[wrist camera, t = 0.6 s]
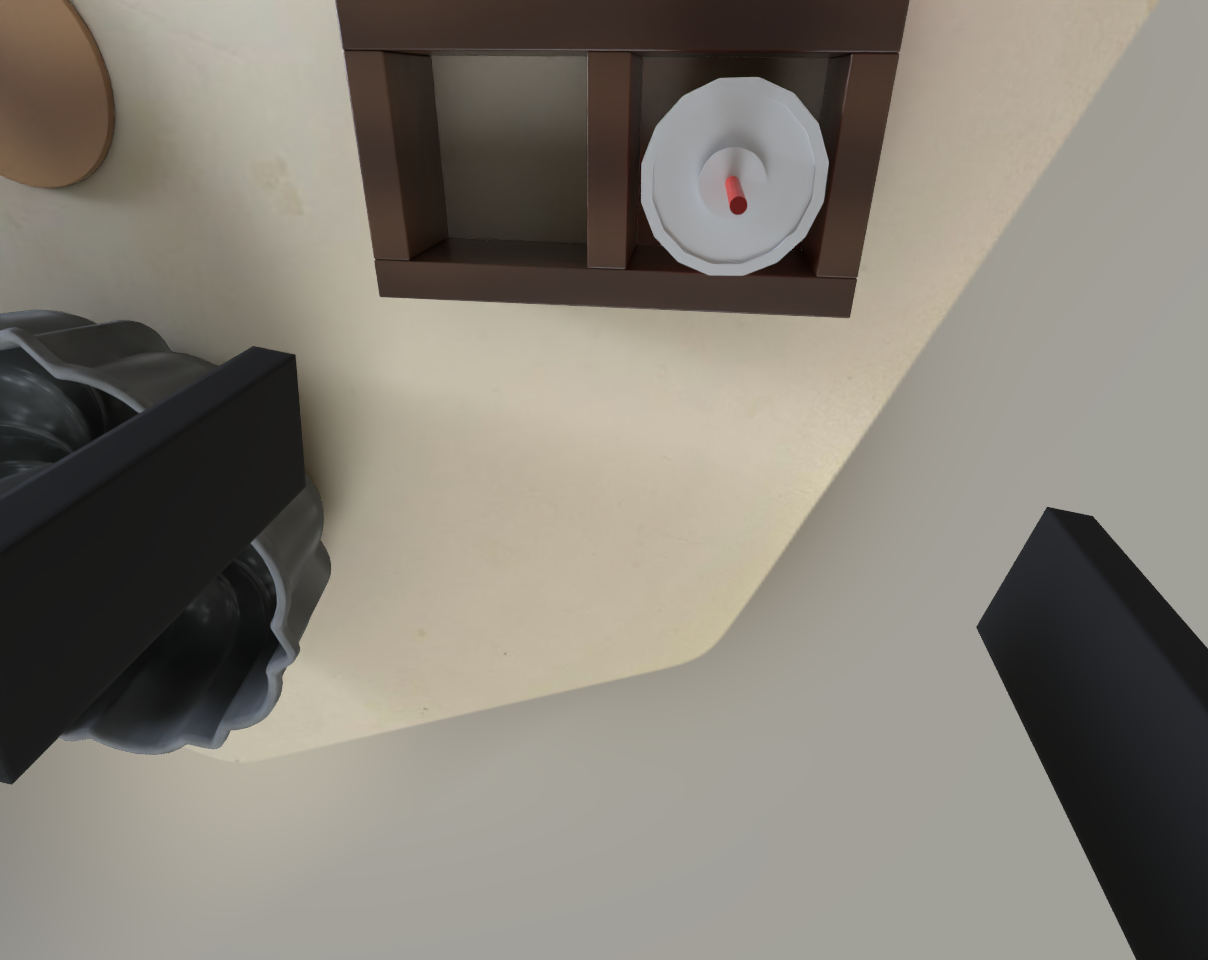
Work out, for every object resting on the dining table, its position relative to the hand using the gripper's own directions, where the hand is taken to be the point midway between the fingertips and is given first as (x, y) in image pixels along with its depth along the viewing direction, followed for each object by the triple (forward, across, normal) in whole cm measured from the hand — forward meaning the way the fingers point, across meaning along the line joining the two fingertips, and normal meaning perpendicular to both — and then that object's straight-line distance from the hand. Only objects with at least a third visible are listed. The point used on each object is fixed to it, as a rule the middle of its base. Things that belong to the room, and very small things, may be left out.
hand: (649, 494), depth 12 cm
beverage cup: (+24, +1, +4) cm, 24 cm away
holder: (+23, -4, +3) cm, 24 cm away
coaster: (+23, -33, +2) cm, 40 cm away
